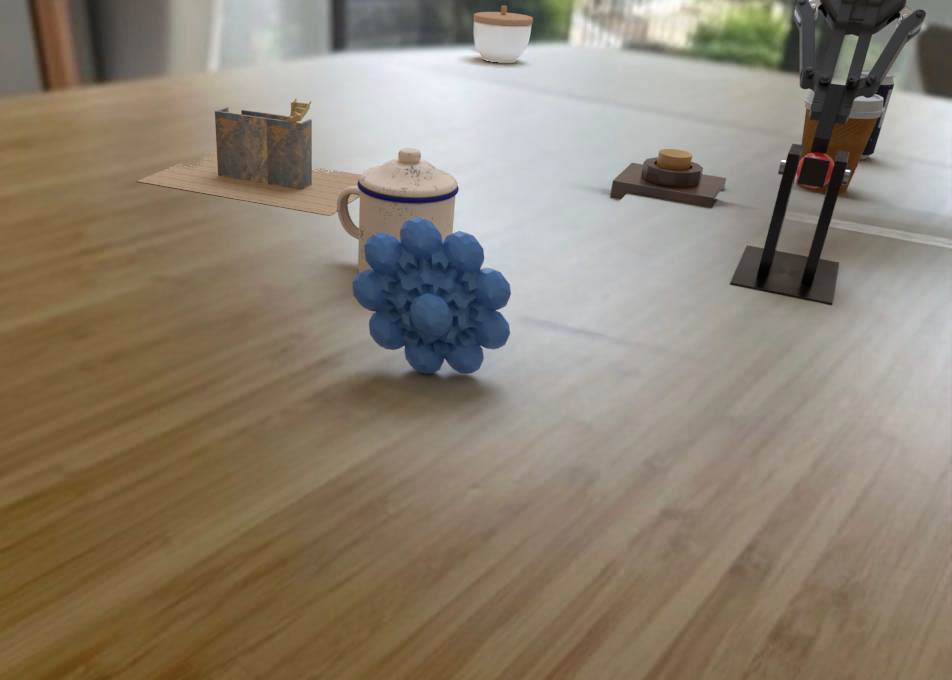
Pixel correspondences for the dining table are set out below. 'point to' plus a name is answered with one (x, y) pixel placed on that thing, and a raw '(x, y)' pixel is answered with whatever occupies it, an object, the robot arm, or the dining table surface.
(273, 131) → the architectural model on board
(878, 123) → the beverage can
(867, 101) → the disposable coffee cup
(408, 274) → the blue flower ornament
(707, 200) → the brown lamp base
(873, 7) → the robot arm
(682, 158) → the button
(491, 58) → the lidded bowl
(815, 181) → the power lever
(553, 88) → the dining table surface
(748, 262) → the stand
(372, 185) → the teacup with lid
